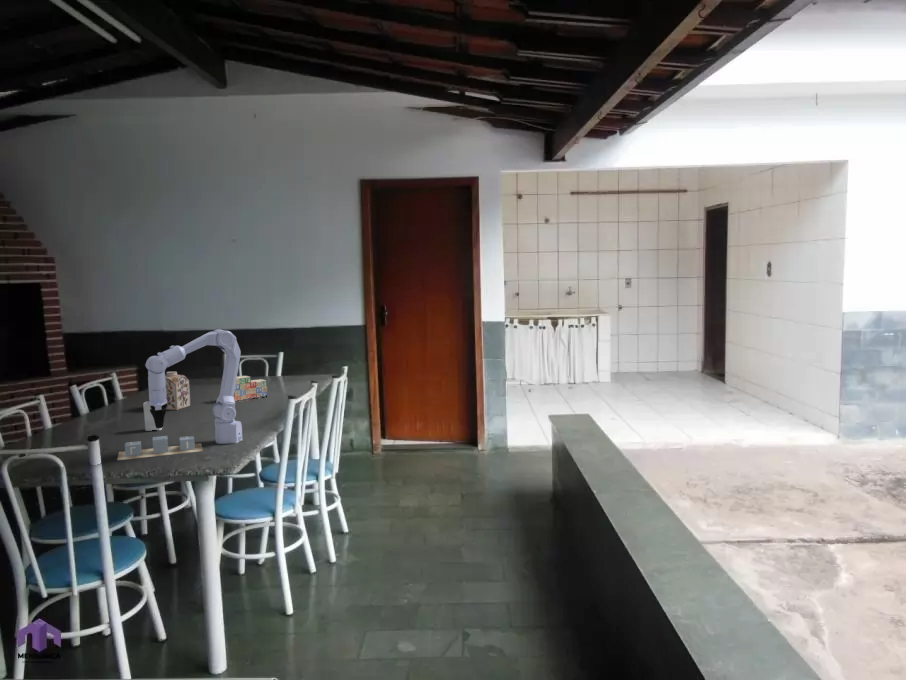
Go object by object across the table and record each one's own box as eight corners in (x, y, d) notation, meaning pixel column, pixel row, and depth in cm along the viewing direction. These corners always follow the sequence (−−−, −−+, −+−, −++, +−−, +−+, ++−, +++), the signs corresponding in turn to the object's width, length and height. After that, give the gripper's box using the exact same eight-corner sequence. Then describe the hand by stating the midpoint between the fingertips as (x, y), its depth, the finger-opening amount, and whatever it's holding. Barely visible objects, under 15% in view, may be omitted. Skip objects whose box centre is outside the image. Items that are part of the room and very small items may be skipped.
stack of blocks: (262, 396, 353) (261, 373, 352) (267, 397, 349) (266, 374, 348) (223, 401, 339) (222, 378, 338) (229, 403, 334) (228, 379, 333)
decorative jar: (177, 410, 317) (175, 373, 315) (155, 410, 319) (153, 373, 317) (191, 405, 328) (189, 370, 326) (170, 405, 330) (168, 369, 329)
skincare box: (163, 428, 280) (161, 400, 278) (159, 430, 275) (158, 402, 274) (148, 428, 279) (146, 400, 278) (144, 431, 274) (142, 402, 273)
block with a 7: (141, 451, 239) (140, 440, 238) (141, 455, 234) (140, 444, 234) (126, 453, 237) (125, 442, 236) (125, 457, 232) (124, 445, 232)
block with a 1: (194, 446, 246) (193, 435, 245) (195, 449, 241) (194, 438, 241) (180, 447, 244) (179, 437, 243) (180, 451, 239) (179, 440, 239)
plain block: (168, 448, 242) (167, 435, 242) (168, 452, 238) (167, 438, 237) (153, 450, 240) (152, 437, 240) (153, 453, 236) (152, 440, 235)
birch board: (201, 445, 250) (201, 443, 250) (202, 453, 239) (202, 450, 239) (119, 454, 239) (119, 451, 239) (117, 463, 228) (116, 460, 228)
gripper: (145, 387, 242) (147, 423, 243) (144, 393, 228) (147, 431, 230) (166, 385, 244) (168, 421, 246) (166, 391, 231) (168, 429, 233)
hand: (159, 426), depth 238 cm, fingers open, 6 cm apart
